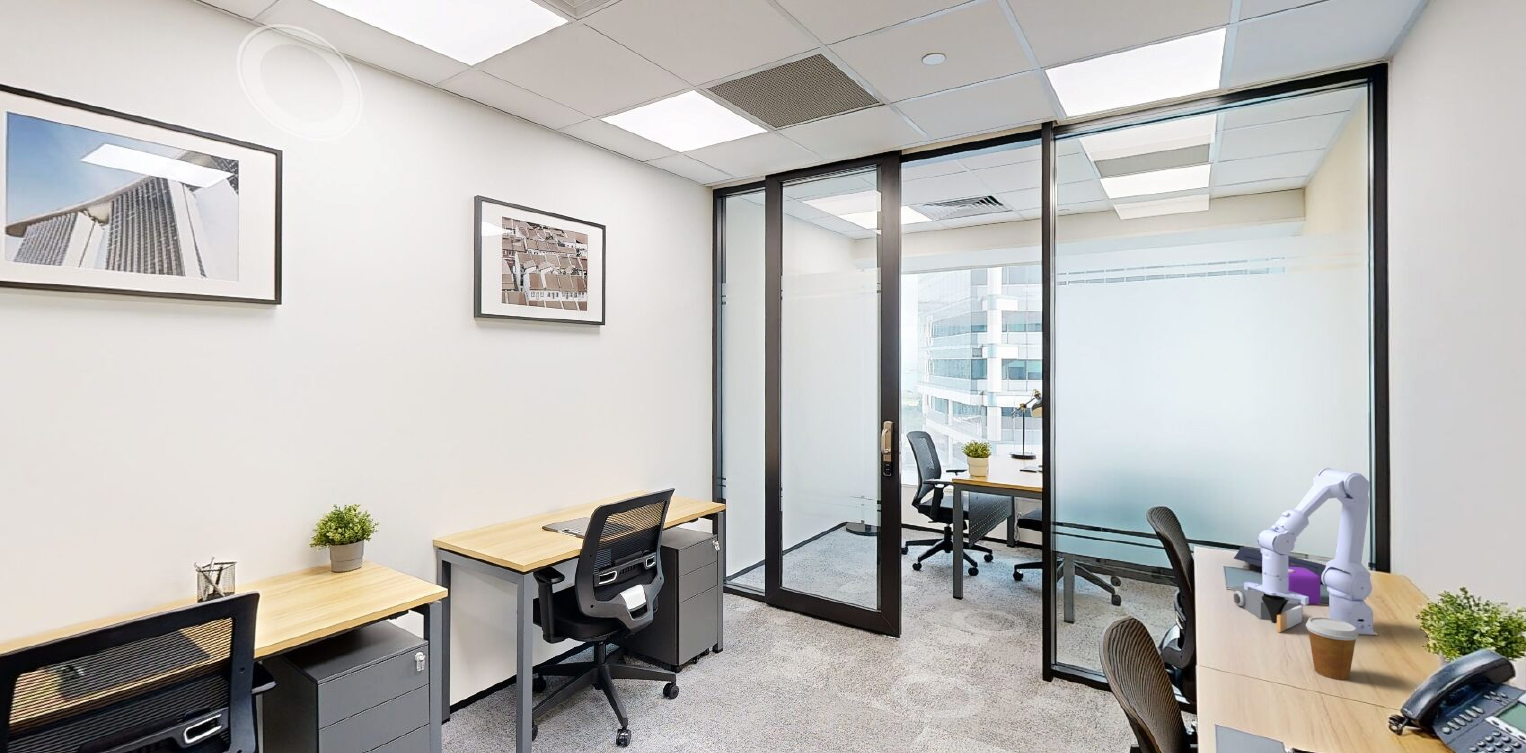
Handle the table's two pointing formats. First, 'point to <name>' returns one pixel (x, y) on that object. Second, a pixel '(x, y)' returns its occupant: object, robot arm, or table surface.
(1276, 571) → the robot arm
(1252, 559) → the dark grey slab
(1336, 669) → the disposable coffee cup
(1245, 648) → the table surface
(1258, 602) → the grey box
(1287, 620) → the side door
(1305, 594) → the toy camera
